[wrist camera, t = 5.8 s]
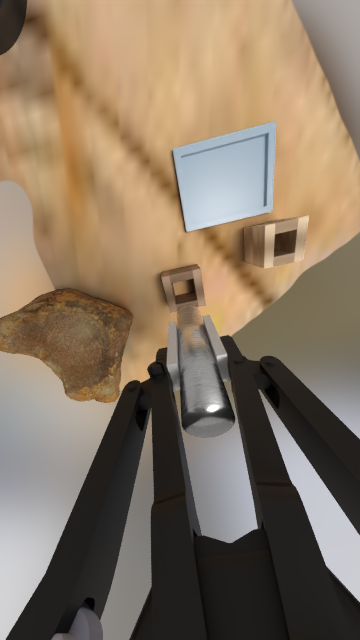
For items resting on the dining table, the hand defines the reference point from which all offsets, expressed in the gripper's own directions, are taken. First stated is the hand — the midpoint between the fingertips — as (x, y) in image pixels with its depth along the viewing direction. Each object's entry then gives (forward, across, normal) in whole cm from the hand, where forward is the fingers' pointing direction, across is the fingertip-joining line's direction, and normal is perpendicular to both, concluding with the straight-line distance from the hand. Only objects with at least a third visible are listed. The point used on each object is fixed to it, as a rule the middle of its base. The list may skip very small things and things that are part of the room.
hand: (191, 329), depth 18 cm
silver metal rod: (+4, 0, 0) cm, 4 cm away
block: (+19, +16, +5) cm, 25 cm away
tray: (+19, +10, +15) cm, 26 cm away
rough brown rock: (+19, -19, -4) cm, 27 cm away
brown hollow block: (+19, 0, 0) cm, 19 cm away
